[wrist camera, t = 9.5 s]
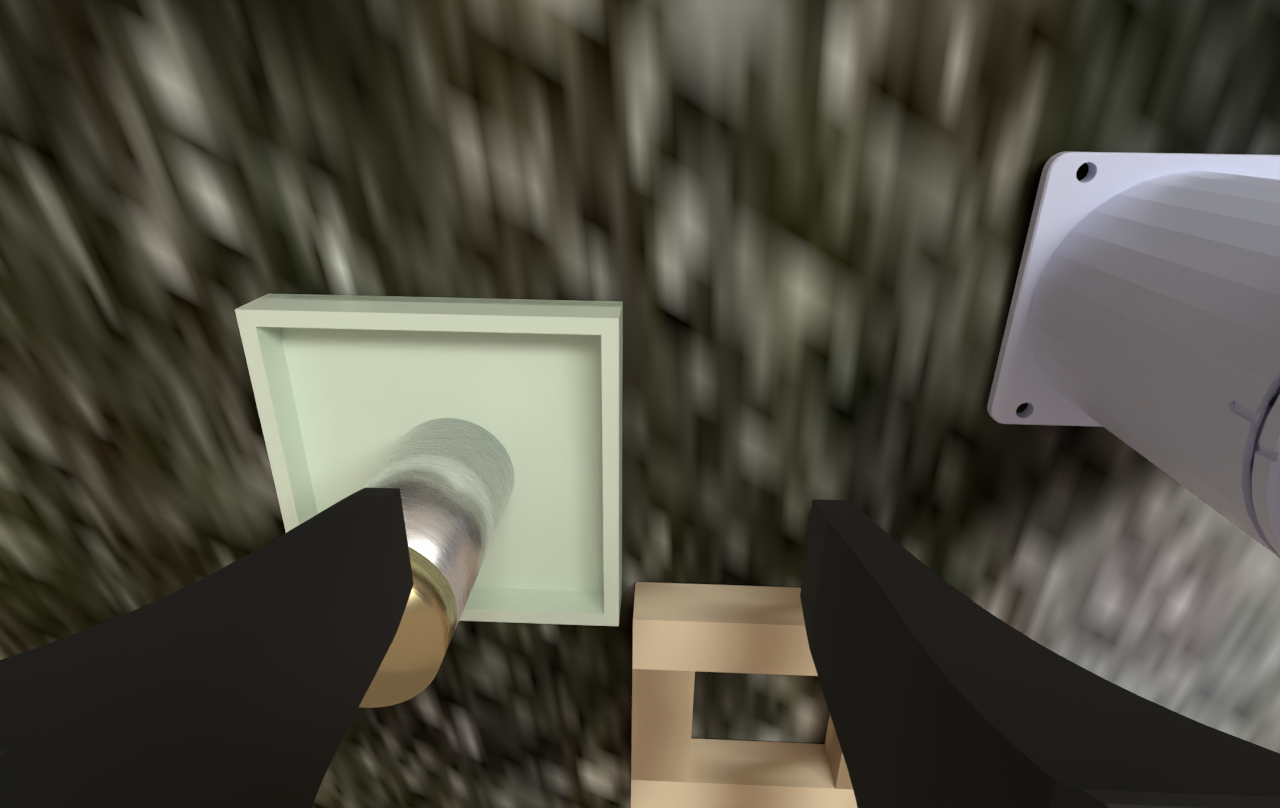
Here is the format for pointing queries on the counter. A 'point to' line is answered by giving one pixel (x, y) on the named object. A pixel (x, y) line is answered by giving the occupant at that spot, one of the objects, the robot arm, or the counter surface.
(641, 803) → the tan square frame
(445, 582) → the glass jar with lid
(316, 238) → the counter surface
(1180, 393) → the robot arm
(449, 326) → the tray
